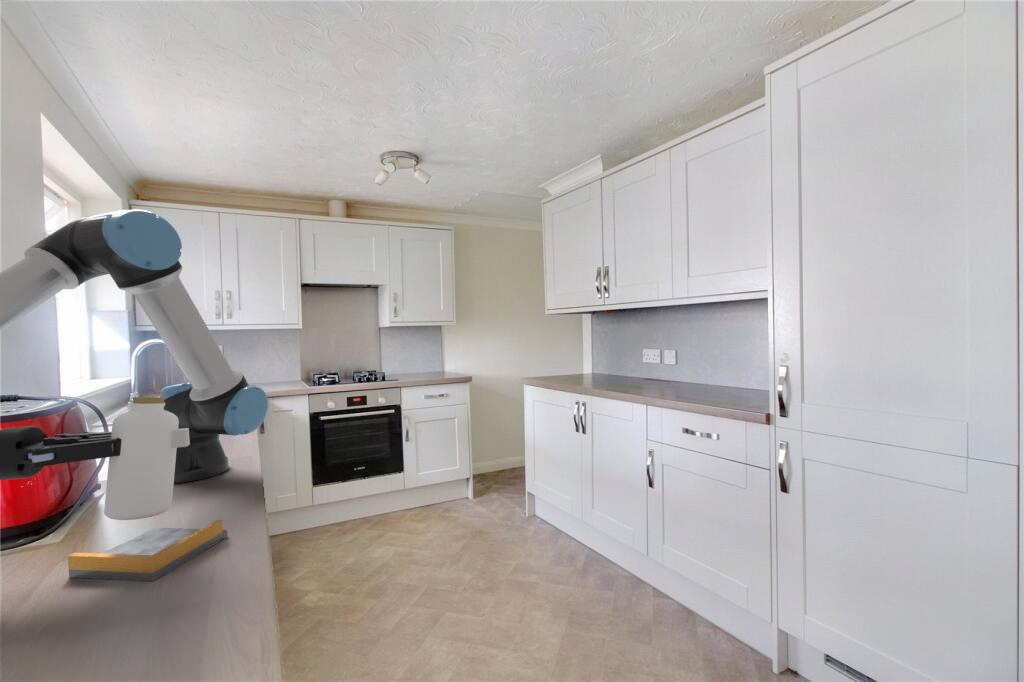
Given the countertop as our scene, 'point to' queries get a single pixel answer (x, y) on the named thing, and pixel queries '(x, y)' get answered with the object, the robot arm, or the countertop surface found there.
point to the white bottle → (142, 461)
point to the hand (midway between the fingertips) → (187, 437)
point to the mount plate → (146, 554)
